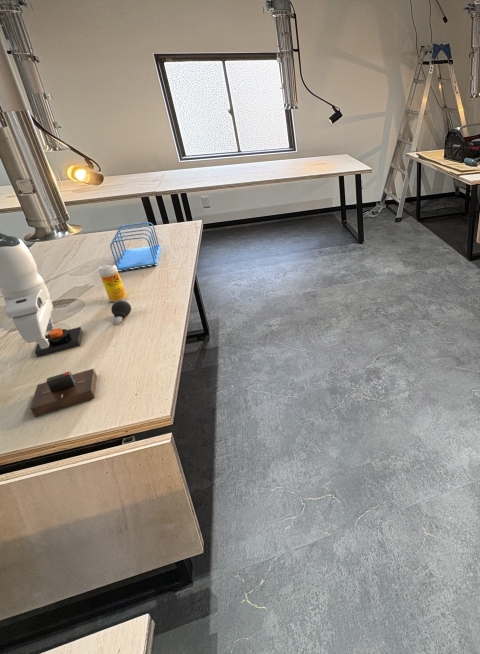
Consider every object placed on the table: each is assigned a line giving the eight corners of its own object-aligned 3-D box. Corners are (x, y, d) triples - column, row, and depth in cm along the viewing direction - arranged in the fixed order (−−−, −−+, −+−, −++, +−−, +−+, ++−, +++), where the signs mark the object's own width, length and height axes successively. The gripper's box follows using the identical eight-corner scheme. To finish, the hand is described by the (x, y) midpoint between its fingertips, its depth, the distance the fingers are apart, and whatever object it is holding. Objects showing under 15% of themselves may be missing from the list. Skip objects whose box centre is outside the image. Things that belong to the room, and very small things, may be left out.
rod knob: (51, 392, 116) (45, 381, 114) (52, 388, 118) (46, 377, 116) (74, 385, 119) (69, 374, 117) (75, 382, 120) (70, 370, 118)
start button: (49, 339, 139) (47, 335, 138) (51, 334, 142) (49, 330, 141) (62, 336, 140) (60, 332, 139) (64, 331, 143) (62, 327, 142)
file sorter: (157, 266, 198) (148, 236, 191) (116, 273, 192) (105, 242, 185) (161, 247, 219) (153, 220, 212) (124, 253, 213) (115, 225, 206)
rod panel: (34, 417, 112) (29, 408, 111) (41, 392, 121) (36, 384, 119) (94, 398, 118) (90, 389, 117) (96, 376, 127) (93, 368, 125)
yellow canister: (119, 303, 167) (107, 270, 160) (106, 302, 168) (94, 269, 161) (130, 295, 172) (118, 263, 166) (117, 294, 173) (105, 262, 167)
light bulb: (105, 318, 149) (111, 297, 155) (109, 328, 153) (114, 307, 160) (126, 318, 151) (131, 297, 158) (128, 328, 155) (133, 307, 162)
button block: (37, 357, 136) (32, 347, 134) (42, 342, 144) (37, 332, 142) (80, 346, 141) (76, 336, 139) (82, 331, 149) (78, 322, 147)
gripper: (19, 283, 115) (40, 324, 122) (3, 316, 99) (27, 361, 106) (47, 277, 118) (65, 317, 124) (35, 308, 102) (57, 353, 108)
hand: (48, 338), depth 115 cm, fingers open, 8 cm apart
